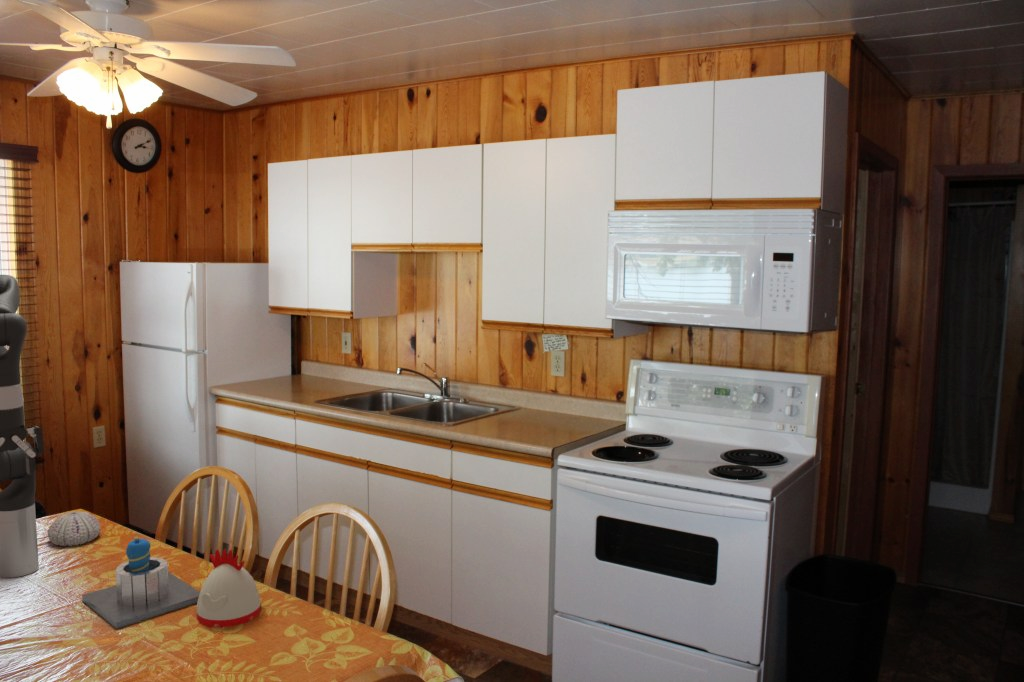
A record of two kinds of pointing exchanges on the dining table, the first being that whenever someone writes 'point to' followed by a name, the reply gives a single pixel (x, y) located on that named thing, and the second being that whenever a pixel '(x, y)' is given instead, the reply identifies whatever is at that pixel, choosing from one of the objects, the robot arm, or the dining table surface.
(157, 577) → the tube on square plate
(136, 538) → the ornament
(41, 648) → the dining table surface
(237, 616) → the kitchen timer
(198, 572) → the dining table surface
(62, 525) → the sea urchin shell
